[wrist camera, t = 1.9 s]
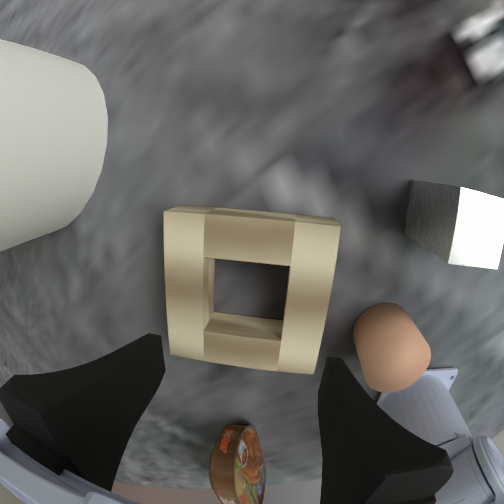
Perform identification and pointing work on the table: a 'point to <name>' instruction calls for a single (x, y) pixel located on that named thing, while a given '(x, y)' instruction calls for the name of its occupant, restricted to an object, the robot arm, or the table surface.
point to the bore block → (250, 250)
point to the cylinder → (46, 141)
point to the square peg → (456, 223)
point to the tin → (238, 466)
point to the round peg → (390, 348)
